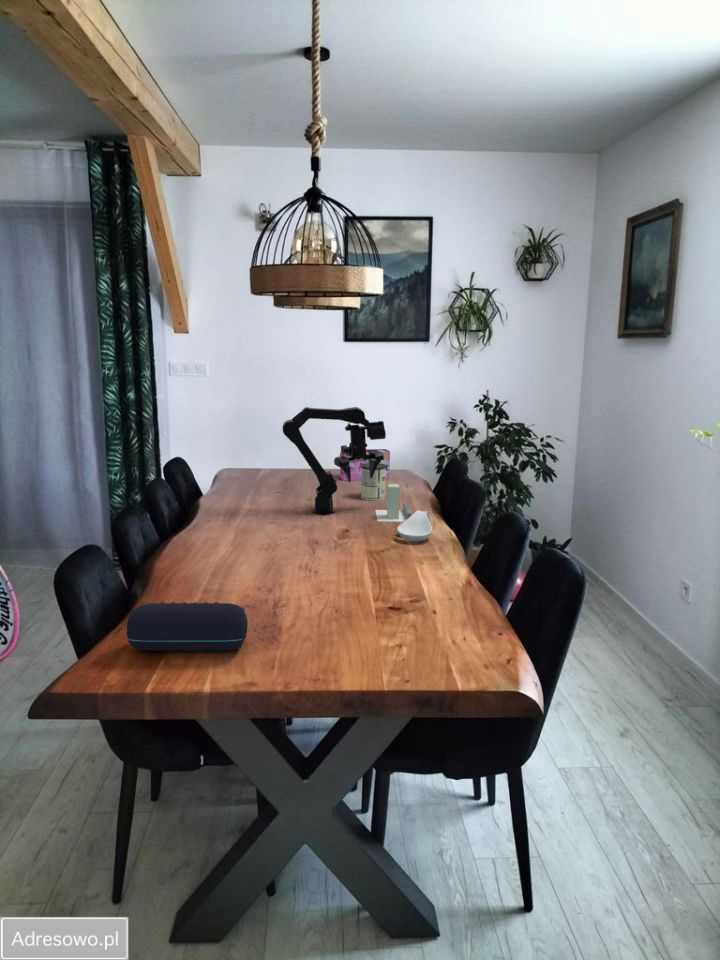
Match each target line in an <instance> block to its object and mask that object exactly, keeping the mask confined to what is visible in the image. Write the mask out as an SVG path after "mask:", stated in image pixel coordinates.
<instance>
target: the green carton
mask: <svg viewBox="0 0 720 960" xmlns="http://www.w3.org/2000/svg"><path fill="white" fill-rule="evenodd" d="M400 489H401V487H400V484H399V483H387V497H386V498H387V499H386V501H387V502H386V508H387V509H386V510H387V517H388V519H399V510H400V504H401V503H400V502H401V490H400Z"/></svg>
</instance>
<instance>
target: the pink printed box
mask: <svg viewBox="0 0 720 960" xmlns="http://www.w3.org/2000/svg"><path fill="white" fill-rule="evenodd" d="M375 450H378V451H380V452H382V453H383V454H384V460H381V464H385V465H386V473H385V481H386V480H390V470H391V469H390V466H391V451H390V450H388V449H385V448H375V449H367V448H366V454H368V453H369V451H375ZM340 456H345V457H346V458H351V457H352V456H346V454H342V453H341V450H340V454H339V457H340ZM365 463H369V460H362V461H357V462H351V463H349V465H348V466H350V473H351V481H361V478H362V467H361V465H362V464H365ZM339 468H340V467H339ZM340 478H341V480H343V481H347V482H348V480H347V477H346V475H345V473H344V471H343V469H342V468H340ZM343 481H342V482H343Z"/></svg>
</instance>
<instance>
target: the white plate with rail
mask: <svg viewBox="0 0 720 960" xmlns="http://www.w3.org/2000/svg"><path fill="white" fill-rule="evenodd" d="M375 515H376V520H377V522H395V523H396V522H398V523H399V522H401V523H403V522H404V521H406V520H407V519H408V518H410V517H411V516H412V513H411V509H410V508H409V505H408V503H407V502H403V505H402V510H400V509H399V519H388V517H387V509H375Z"/></svg>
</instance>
